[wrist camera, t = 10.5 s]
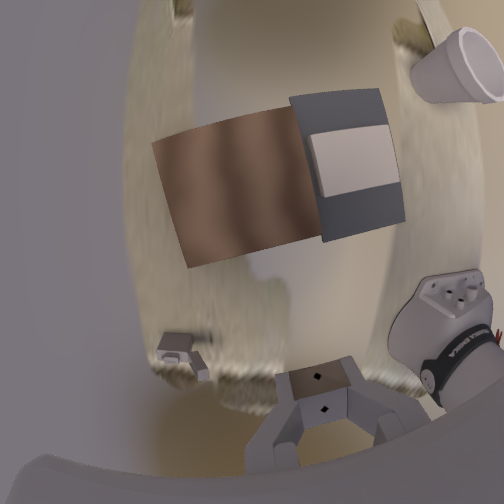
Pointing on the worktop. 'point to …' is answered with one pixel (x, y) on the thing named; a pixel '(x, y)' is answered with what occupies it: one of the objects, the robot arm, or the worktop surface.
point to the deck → (238, 186)
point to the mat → (356, 202)
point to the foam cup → (460, 71)
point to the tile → (352, 159)
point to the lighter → (182, 353)
